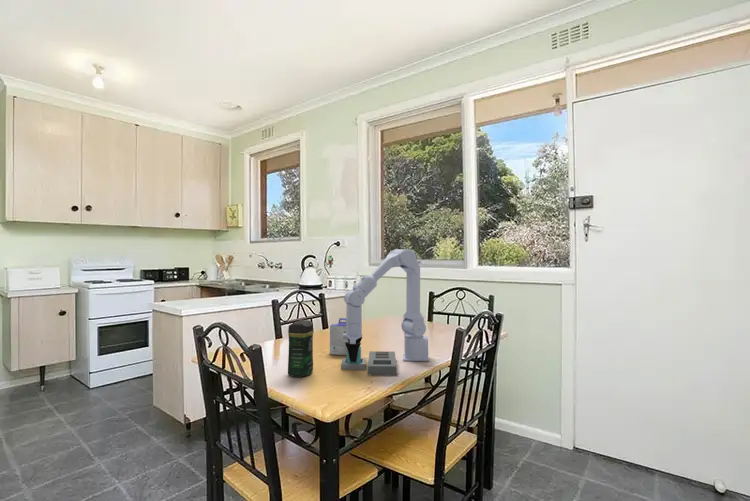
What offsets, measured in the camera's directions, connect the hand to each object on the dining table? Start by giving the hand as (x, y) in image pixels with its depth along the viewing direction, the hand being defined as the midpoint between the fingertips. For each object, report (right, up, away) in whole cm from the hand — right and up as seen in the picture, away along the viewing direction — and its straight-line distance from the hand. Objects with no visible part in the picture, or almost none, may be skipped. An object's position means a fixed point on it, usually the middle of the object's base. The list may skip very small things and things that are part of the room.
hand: (353, 358), depth 150 cm
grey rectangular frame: (0, -3, 0) cm, 3 cm away
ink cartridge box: (-6, -3, +18) cm, 19 cm away
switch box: (+11, -3, 0) cm, 11 cm away
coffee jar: (-18, -3, -9) cm, 20 cm away
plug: (0, -3, 0) cm, 3 cm away
